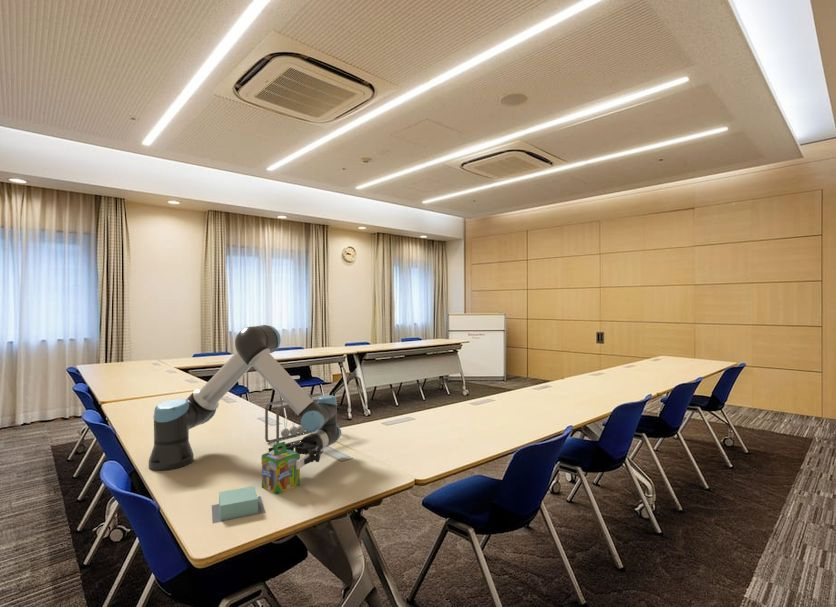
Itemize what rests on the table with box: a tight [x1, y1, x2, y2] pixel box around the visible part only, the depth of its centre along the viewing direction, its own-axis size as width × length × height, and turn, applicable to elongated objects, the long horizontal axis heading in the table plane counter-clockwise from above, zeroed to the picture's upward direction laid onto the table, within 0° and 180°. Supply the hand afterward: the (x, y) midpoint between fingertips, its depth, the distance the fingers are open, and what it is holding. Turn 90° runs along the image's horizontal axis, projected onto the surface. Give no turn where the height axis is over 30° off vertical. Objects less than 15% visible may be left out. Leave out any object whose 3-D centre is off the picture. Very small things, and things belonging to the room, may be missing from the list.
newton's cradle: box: [264, 393, 323, 445], centre depth 199 cm, size 30×10×18 cm, turn 138°
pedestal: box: [218, 485, 259, 520], centre depth 129 cm, size 10×10×4 cm
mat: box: [211, 495, 266, 524], centre depth 129 cm, size 14×12×1 cm
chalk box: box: [261, 441, 301, 495], centre depth 145 cm, size 9×9×15 cm
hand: (279, 462), depth 144 cm, fingers open, 13 cm apart
